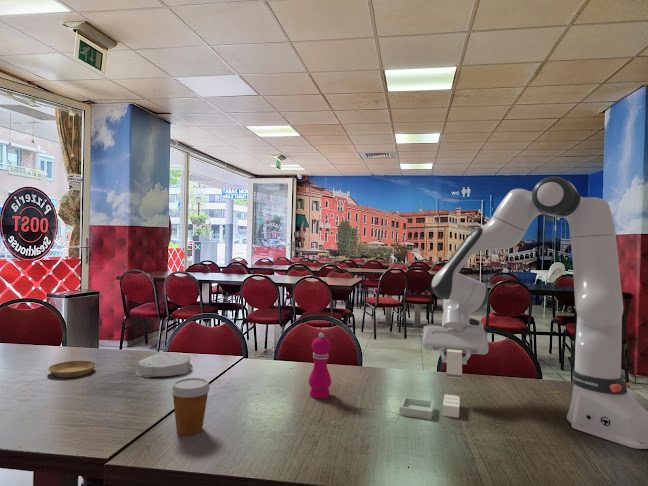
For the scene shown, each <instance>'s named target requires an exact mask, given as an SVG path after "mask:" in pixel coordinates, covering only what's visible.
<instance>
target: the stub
mask: <svg viewBox="0 0 648 486" xmlns="http://www.w3.org/2000/svg"><path fill="white" fill-rule="evenodd" d="M446 355H447V363H446V378H451V379H462V378H463V364H462V357H463V353H462V350H458V349H447V351H446Z"/></svg>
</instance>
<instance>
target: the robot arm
mask: <svg viewBox="0 0 648 486" xmlns="http://www.w3.org/2000/svg"><path fill="white" fill-rule="evenodd" d="M538 216H547V217H553V218H565V220H566V221H567V223H568V228H569V235H570V237H569V238H570V248H571V257H572V269H573V270H572V272H573V275H572V276H573V289H574V290H573V291H574V292H573V293H574V294H573V295H574V305H575V306H574V307H575V311H576V315H577V316H576V328H575V329H576V330H575V342H574V343H575V347H574V348H575V349H574V350H575V351H574V368H573V370H572V379H571V380H572V381H571V382H572V388H573V389H572V394H571V395H572V396H571V401H570V405H569V408H568V412H567V414H566V419H567V421H568V422H569V423H570V424H571V428H572V429H575V430H578V431H580V432H583V433H587V434H590V435H592V436H596V437H598V438H601V439H603V440H607V441H610V442H612V443H613V442H614V443H616V444H619V445H622V446H625V447H629V448H631V449H638V450H643V449H645V450H646V449H648V410H647V409H645V408H644V407H643V406H642V405H641V404H640V403H639V402H638V401H636V399H635V398H634V397H633V396H631V394H629V392H628V388H629V387H631V384H632V382H631V381H630V382H626V381H625V380H624V379H623V377H622V376H621V375H622V374H621V373H622V372H621V371H622V351H623V350H622V349H623V348H622V344H623V343H622V340H623V339H622V338H623V336H622V335H623V328H622V327H623V314H624V300H623V291H622V283H621V272H620V264H619V254H618V245H617V235H616V226H615V222H614V217H613V214H612V211H611V208H610V205H609V203H608V202H607V201H606V200H605V199H602V198H600V197H594V196H593V197H591V196H589V197H583V196H581V195H580V194H579V192H578V190H577V189H576V187H575V186H574V184H573V183H571V182H570V181H569V180H566V179H565V178H563V177H560V176H549V177H548V176H547V177H545V178H542V179H541V180H539V181H538V182H537V183H536V184H535V186H534V187H533V188H532V191H530V190H527V189H523V188H513V189H512V190H510V191H509V192H508V193H506V195H505V196H504V197H503V199H502V200H501V201H500V203H499V205H498V206H497V207H496V209H495V211H494V213H493V214H492V216H491V217H490V218H489V220H488V221H487V222H486V223H485V224H484V225H482V226H481V227H476V228H473V229H472V231H471V232H469V233H468V234H467V236H466V237H464V239H463V241H462V242H461V243H460V244H459V245H458V247H457V248H456V249H455V250H454V252H453V254H451V256H450V258H448V260H447V261H446V262H445V264H443V266H442V267H441V268H440V269H439V270H438V271H437V272H436V273H435V274H434V276H433V278H432V280H431V285H430V286H431V290H432V291H433V294H434V295H435V296H436V297H437V298H439V299H442V300H443V301H442V310H443V313H442V314H441V315H442V317H441V324H437V323H435V324H433V323H427V324H426V325H424V326H423V328H422V334H423V338H422V347H423V349H424V350H426V351H436V352H437V351H438V354H439V355H440V357H441V363H444V364H445V363H446V364H447V354H445V352H447V349H458V350H462V354H465V356H462V365H468V364H467V363H468V360H469V359H470V357H471V355H483V356H484V355H487V354H488V353H489V339H488V335H487V332H486V330H485V329H484V328H485V327H484V322H483V321H481V320H479V319H477V318H472V317H470V314H474V313H476V312H478V311H480V310H481V309H483V308H484V307H486V305H487V303H488V301H489V289H488V286H487V285H486V283H484V282H482V281H479V280H478V279H475V278H472V277H469V276H467V275H465V274H462V273H459V272H460V271H461V269H462V268H463V267H464V266H465V265H466V263H467V262H468V261H469V260H470V258H471V257H472V256H473V255H474V254H475V253H477V252H480V251H484V250H494V251H503V250H509V249H511V248H514V247H515V246H518V244H519V243H520V242H521V241H522V240H523V238H524V236H525V234H526V233H527V231H528V229H529V227H530V226H531V223H532V222H533V221H534V220H535V218H537V217H538Z"/></svg>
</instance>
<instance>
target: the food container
mask: <svg viewBox="0 0 648 486" xmlns="http://www.w3.org/2000/svg"><path fill="white" fill-rule="evenodd" d="M137 364H138V365H137V367H138V368H137V370H135V374H136V375H137V376H139V377H144V378H148V379H149V378H153V377H154V378H155V377H171V376H177V375H184V374H189V371H192V370H193V369H194V367H193V364H192V363H191V357H190V355H189V354H187V353H179V352H161V353H160V352H159V353H157V354H154V355H151V356H148V357H145V358H143V359H141V360H139V361H138V362H137Z"/></svg>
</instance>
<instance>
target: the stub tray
mask: <svg viewBox="0 0 648 486" xmlns="http://www.w3.org/2000/svg"><path fill="white" fill-rule="evenodd" d="M434 409H435V401H434V400H430V399H429V400H428V399H424V398H423V399H421V398H415V397H407V396H403V399H402V400H401V403H400V405H399V409H398V410H399V414H398V415H399V416H405V417H412V418H418V419H424V420H432V419H433V415H434V414H433V413H434Z"/></svg>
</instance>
